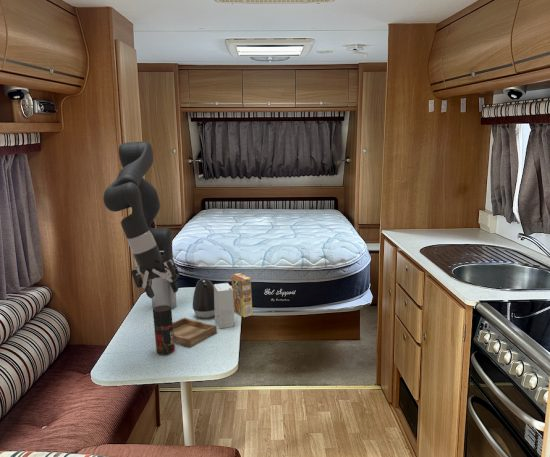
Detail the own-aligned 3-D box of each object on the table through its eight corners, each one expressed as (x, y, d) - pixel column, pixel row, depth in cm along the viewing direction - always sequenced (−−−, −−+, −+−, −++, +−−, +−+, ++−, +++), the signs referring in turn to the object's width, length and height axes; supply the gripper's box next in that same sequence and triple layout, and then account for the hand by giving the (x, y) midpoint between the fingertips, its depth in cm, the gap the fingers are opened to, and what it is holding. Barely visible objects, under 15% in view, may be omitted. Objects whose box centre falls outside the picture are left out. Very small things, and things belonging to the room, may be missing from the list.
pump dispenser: (195, 322, 193) (192, 283, 190) (191, 313, 203) (189, 276, 200) (221, 318, 196) (219, 280, 193) (217, 309, 206) (214, 273, 203)
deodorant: (159, 347, 172) (155, 305, 169) (176, 347, 172) (173, 305, 169) (154, 355, 166) (150, 312, 163) (172, 355, 166) (168, 311, 163)
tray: (156, 337, 180) (155, 330, 180) (184, 324, 191) (184, 317, 191) (189, 347, 171) (188, 339, 170) (216, 333, 182) (216, 325, 182)
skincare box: (214, 321, 193) (212, 284, 190) (230, 319, 195) (227, 281, 192) (219, 329, 185) (217, 290, 183) (235, 326, 187) (233, 288, 184)
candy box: (253, 315, 198) (251, 277, 195) (243, 317, 196) (241, 279, 193) (241, 309, 205) (239, 272, 202) (232, 311, 203) (230, 274, 200)
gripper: (169, 237, 155) (188, 284, 159) (129, 247, 159) (149, 293, 163) (159, 247, 148) (179, 295, 153) (118, 257, 152) (139, 304, 157)
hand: (164, 294), depth 158 cm, fingers open, 8 cm apart
